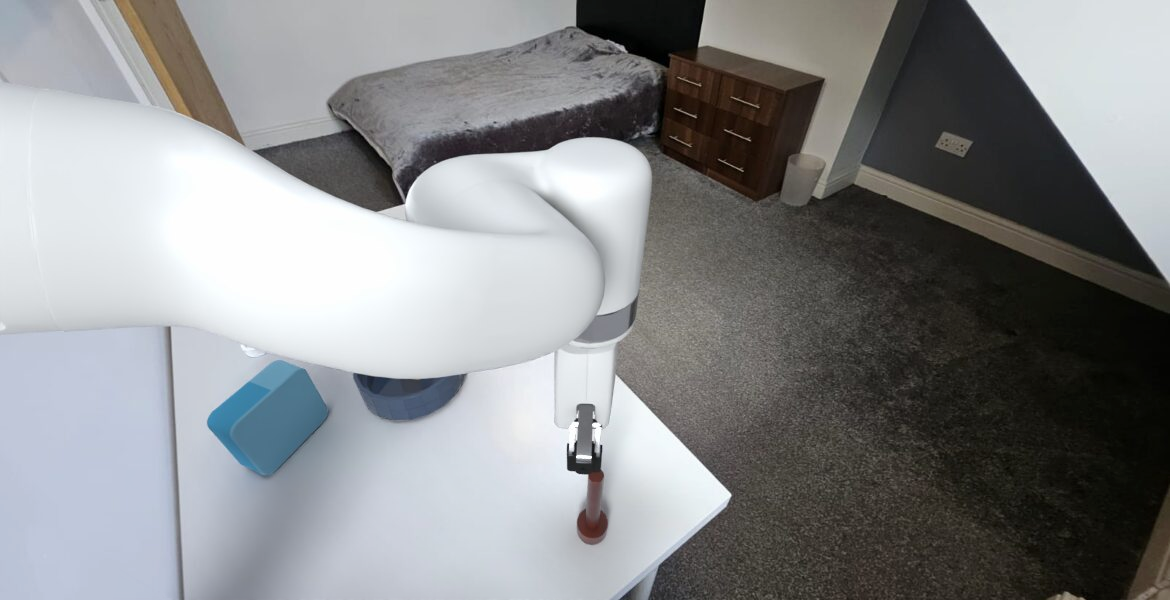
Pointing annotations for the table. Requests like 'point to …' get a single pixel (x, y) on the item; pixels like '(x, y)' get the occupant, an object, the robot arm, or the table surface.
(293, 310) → the robot arm
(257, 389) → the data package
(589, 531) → the red capped peg
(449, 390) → the bowl
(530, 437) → the table surface
